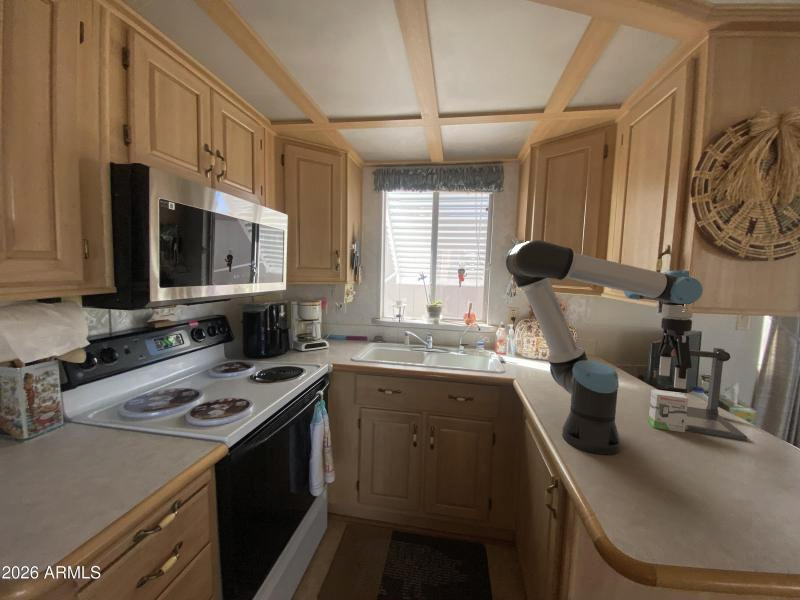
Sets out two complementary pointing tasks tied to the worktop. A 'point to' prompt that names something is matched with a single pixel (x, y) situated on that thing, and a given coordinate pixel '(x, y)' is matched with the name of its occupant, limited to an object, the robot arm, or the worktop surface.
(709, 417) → the press
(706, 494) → the worktop surface
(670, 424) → the ink box
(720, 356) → the lever
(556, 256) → the robot arm
